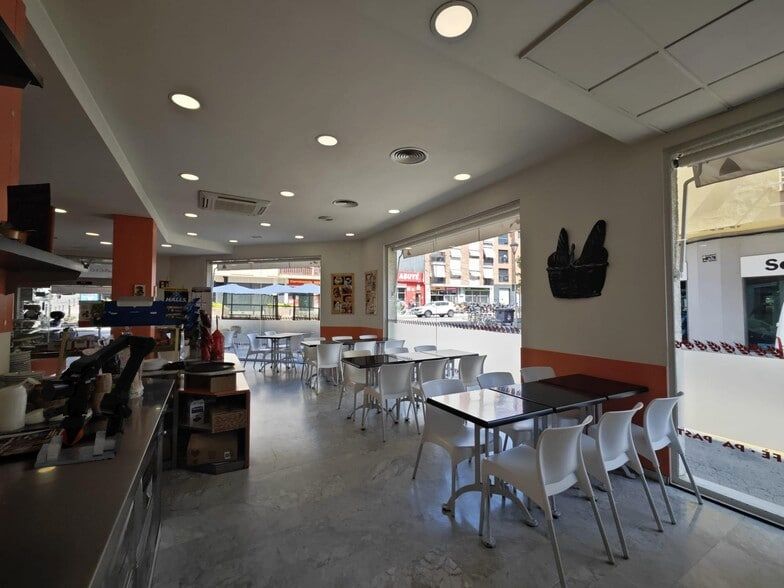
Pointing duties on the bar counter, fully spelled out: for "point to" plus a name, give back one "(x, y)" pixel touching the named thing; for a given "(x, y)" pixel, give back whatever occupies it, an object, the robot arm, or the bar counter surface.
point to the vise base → (67, 454)
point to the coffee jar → (115, 384)
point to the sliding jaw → (106, 443)
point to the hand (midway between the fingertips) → (70, 441)
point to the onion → (75, 438)
